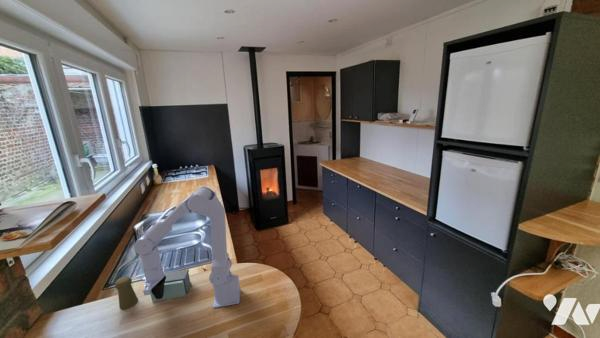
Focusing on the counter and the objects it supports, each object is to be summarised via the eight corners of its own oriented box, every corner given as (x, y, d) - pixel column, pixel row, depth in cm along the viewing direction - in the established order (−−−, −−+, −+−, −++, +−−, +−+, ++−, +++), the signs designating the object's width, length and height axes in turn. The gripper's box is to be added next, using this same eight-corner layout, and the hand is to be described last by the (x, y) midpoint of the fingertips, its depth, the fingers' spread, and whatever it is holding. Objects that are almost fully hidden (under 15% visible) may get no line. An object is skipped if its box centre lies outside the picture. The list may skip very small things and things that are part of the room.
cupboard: (191, 283, 104) (188, 269, 103) (187, 293, 99) (184, 278, 97) (158, 289, 102) (155, 274, 101) (152, 299, 97) (149, 284, 95)
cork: (128, 310, 92) (121, 285, 89) (115, 308, 93) (108, 283, 90) (141, 298, 98) (135, 274, 95) (129, 297, 99) (122, 273, 96)
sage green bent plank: (185, 293, 98) (183, 280, 97) (184, 295, 97) (182, 282, 95) (153, 298, 96) (150, 285, 95) (152, 301, 95) (148, 287, 94)
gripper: (149, 255, 95) (156, 286, 98) (130, 280, 81) (139, 314, 84) (168, 253, 96) (174, 283, 99) (153, 277, 82) (161, 311, 85)
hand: (159, 297), depth 92 cm, fingers closed
